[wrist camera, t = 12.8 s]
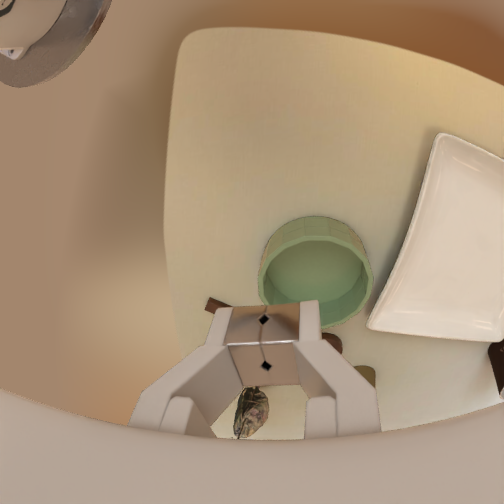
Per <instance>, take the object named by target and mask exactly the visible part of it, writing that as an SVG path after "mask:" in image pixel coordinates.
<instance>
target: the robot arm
mask: <svg viewBox="0 0 504 504" xmlns="http://www.w3.org/2000/svg"><path fill="white" fill-rule="evenodd" d="M65 3H66V0H0V53H1V54H3V55H5V56H7V57H9V58H11V59H13V60H20V59H21V58H22V57H23V56H24V54H25V53H26V51H27V50H28V49H29V47H30V46H31V45H32V44H33V43H35V42H36V41H38V40H39V39H40V38H42V37H43V36H44V35H45V34H46V33H47V32H48V31H49V29H50V28H51V27H52V26H53V24H54V23H55V22H56V20H57V19H58V17H59V15H60V13H61V11H62V9H63V7H64V5H65ZM266 385H301V387H302V389H303V390H304V392H305V393H306V394H307V396H308V397H309V400H308V401H307V402H306V416H305V431H304V439H298V440H247V439H226V438H217V437H216V435H215V434H214V432H213V431H212V429H211V428H210V426H211V425H212V424H213V423H214V422H215V421H216V420H217V418H218V417H219V416H220V415H221V414H222V413H223V412H224V410H225V409H226V408H227V407H228V406H229V405H230V403H231V402H232V401H233V400H234V399H235V398H236V396H237V395H238V394H239V393H240V392H241V390H242V389H243V386H266ZM0 504H504V402H502V403H499V404H497V405H494V406H491V407H487V408H484V409H481V410H478V411H475V412H471V413H468V414H464V415H461V416H457V417H453V418H449V419H445V420H441V421H437V422H432V423H428V424H423V425H418V426H413V427H408V428H403V429H397V430H391V431H385V432H381V424H380V415H379V408H378V400H377V393H376V389H375V388H374V387H373V386H372V385H371V384H370V383H369V382H368V381H367V380H366V379H365V378H364V377H363V376H362V375H361V374H360V373H359V372H358V371H357V370H356V369H355V368H354V367H353V366H352V365H351V364H350V363H349V362H348V361H347V360H346V359H345V358H344V357H343V356H342V355H341V354H340V353H339V352H338V351H337V350H336V349H335V348H334V347H332V346H331V345H330V344H329V343H328V342H327V341H326V340H325V339H323V340H322V333H321V322H320V311H319V302H318V300H310V301H302V302H297V303H286V304H276V305H261V306H242V307H226V308H218V309H217V310H216V312H215V314H214V317H213V320H212V323H211V326H210V329H209V332H208V335H207V338H206V341H205V344H204V346H199V347H197V348H196V349H195V350H194V351H192V352H191V353H190V354H189V355H187V356H186V357H185V358H184V359H182V360H181V361H180V362H179V363H178V364H176V365H175V366H174V367H173V368H171V369H170V370H169V371H167V372H166V373H165V374H164V375H162V376H161V377H160V378H159V379H157V380H156V381H155V382H154V383H152V384H151V385H150V386H148V387H147V388H146V389H145V390H143V391H142V392H141V395H140V397H139V400H138V402H137V404H136V406H135V408H134V411H133V413H132V415H131V418H130V420H129V423H128V425H127V426H125V425H120V424H115V423H111V422H106V421H102V420H98V419H94V418H89V417H86V416H82V415H78V414H75V413H71V412H68V411H64V410H61V409H58V408H54V407H51V406H48V405H45V404H42V403H38V402H36V401H33V400H30V399H28V398H25V397H22V396H19V395H17V394H14V393H11V392H9V391H7V390H4V389H2V388H0Z"/></svg>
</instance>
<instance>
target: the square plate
mask: <svg viewBox="0 0 504 504" xmlns="http://www.w3.org/2000/svg"><path fill="white" fill-rule="evenodd" d="M366 327H367V328H368V329H371V330H376V331H383V332H391V333H399V334H407V335H416V336H425V337H435V338H445V339H456V340H468V341H481V342H500V341H502V340H503V339H504V160H503V159H501V158H500V157H498V156H496V155H494V154H492V153H490V152H488V151H486V150H484V149H482V148H480V147H478V146H476V145H474V144H472V143H470V142H467V141H465V140H463V139H461V138H458V137H456V136H453V135H451V134H447V133H438V134H437V135H436V136H435V139H434V142H433V145H432V148H431V152H430V155H429V159H428V163H427V167H426V171H425V175H424V178H423V182H422V186H421V190H420V193H419V197H418V200H417V204H416V207H415V210H414V214H413V217H412V220H411V223H410V226H409V229H408V232H407V234H406V237H405V240H404V242H403V245H402V248H401V250H400V253H399V255H398V257H397V260H396V262H395V264H394V267H393V269H392V271H391V273H390V275H389V278H388V280H387V282H386V284H385V286H384V288H383V290H382V292H381V294H380V296H379V298H378V300H377V302H376V304H375V306H374V308H373V310H372V312H371V314H370V316H369V318H368V320H367V322H366Z"/></svg>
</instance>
